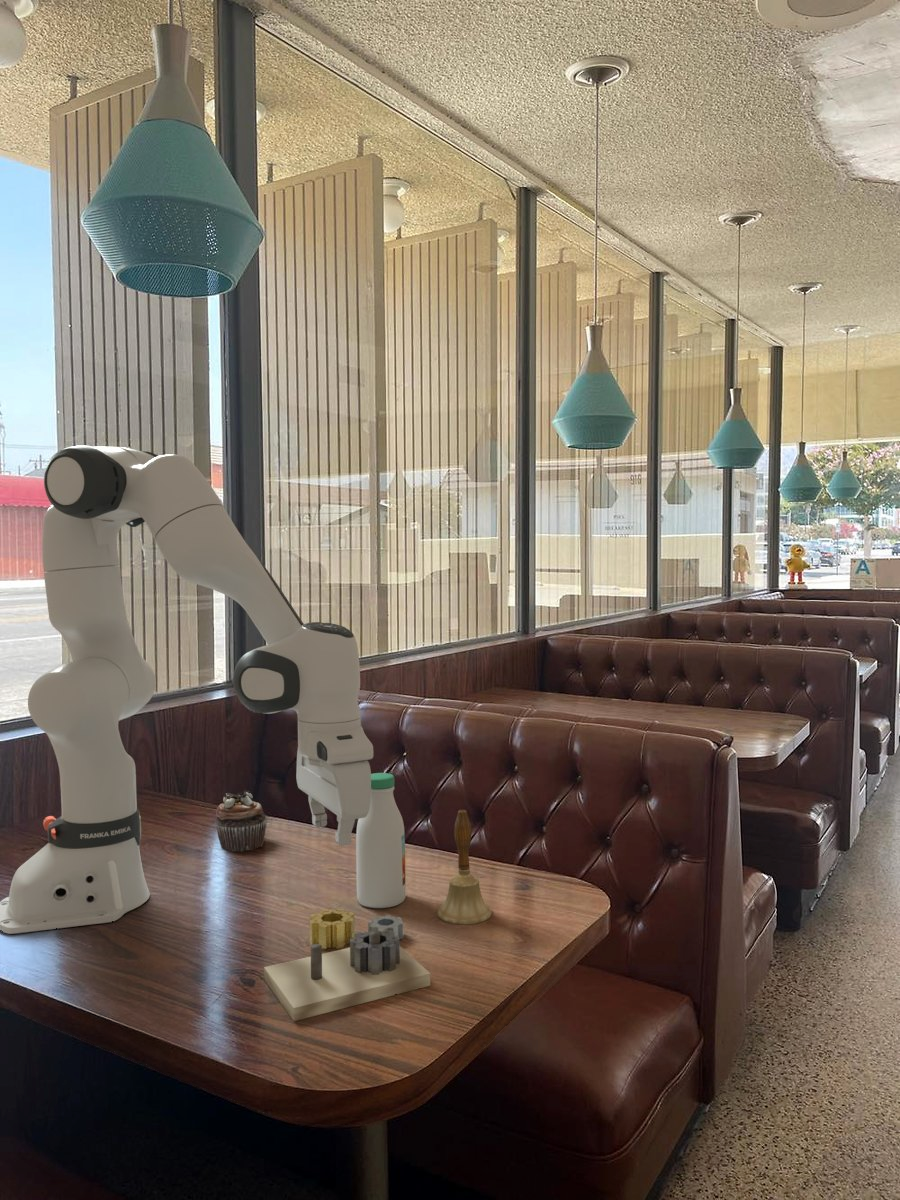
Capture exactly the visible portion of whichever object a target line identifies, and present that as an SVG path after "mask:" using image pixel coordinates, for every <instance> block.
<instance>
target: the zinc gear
mask: <svg viewBox="0 0 900 1200" xmlns="http://www.w3.org/2000/svg"><path fill="white" fill-rule="evenodd" d="M392 915H393V914H386V915H385V916H379V915H378V916H374V917H373V919H372V920H371V919H370V920H368V922H367V932H368V931H371V929H378V931H381V932H382V931H385V932H386V931H388V930H390V931H392V932H394V935H395V937H398V936H399V940H403V939H404V935H405V934H404V932H405V931H404V930H405V929H404V928H405V927H404V926H405V925H404V923H405V922H404V921H402V920H403V919H402V918H401V917H400V916H397V917H396V916H392Z"/></svg>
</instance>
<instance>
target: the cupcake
mask: <svg viewBox="0 0 900 1200" xmlns="http://www.w3.org/2000/svg"><path fill="white" fill-rule="evenodd" d="M253 797H254V796H253V794H252V792H251V791H250V790H246V789H244V791H242V792H240V793H234V794H233V793H230V792H225V793H224V796H223V799H222V800H223V801H222V803H220V804H219V805H218V807H216V810H215V814H216V816H215V818H214V825H215V830H216V832H217V837H218V841H219V844H220V847H221V849H222V850H223V849H224V851H226V852H234V851H239V852H246V850H249V851H252V850H251V849H253V850H256V849H255V848H257V849H259V848H261V847H262V846H263V844H264V843H265V834H266V828H267V823H268V817H267V815H266V814H265V813H264V811H263V807H262V805H261V803H259V802H256V801H253ZM261 845H262V846H261ZM260 846H261V847H260ZM258 847H259V848H258Z"/></svg>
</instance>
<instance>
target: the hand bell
mask: <svg viewBox="0 0 900 1200" xmlns="http://www.w3.org/2000/svg"><path fill="white" fill-rule="evenodd" d="M454 841H455V843H456V844H455V845H456V847H457V851H458V852H457V853H458V859H457V861H458V863H457V864H458V866H457V867H458V873H457V874H455V875H453V876H451V878H450V879H449V885H448V891H447V892H448V893H447V895H446V899H445V901H444V902H443V903H442V904H441V905H440V906H439V907H438V910H437V913H436V914H437V916H438V918H439V919H441V920H442V921H444V922H446V923H449V924H454V925H474V924H479V923H483V922H484V921H485V922H486V920H488V919H490V917H492V913H493V911H492V909H491V907H490V906H489V905H488V904H487V903H486V902H485V900H484V898H483V895H482V892H481V888H480V880H479V878H478V877H477V876H476V875H474V874H471V869H470V856H469V849H470V846H471V843H472V842H471V841H472V825H471V822H470V818H469V816H468V812H467V810H466V809H459V810H458V811H457V816H456V819H455V823H454Z"/></svg>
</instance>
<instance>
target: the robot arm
mask: <svg viewBox="0 0 900 1200" xmlns="http://www.w3.org/2000/svg"><path fill="white" fill-rule="evenodd" d="M43 486H44V491H45V495H46V497H47V499H48V501H49V503H50V506H49V507H48V508H47V510H46V512H45V514H44V517H43V524H42V525H43V526H42V537H41V539H42V541H41V544H42V545H41V549H42V550H41V553H42V554H41V555H42V567H43V569H42V570H43V576H44V586H45V594H46V603H47V611H48V612H47V613H48V619H49V622H50V625H52V627H53V628H54V629H55V630H56V631H57V632H58V633H59V634H60V635H61V636H62V638H63V639H64V640H63V641H64V642H65V643H66V646H67V648H68V651H69V653H70V656H71V660H72V661H70V662H69V661H68V662H64V663H62V664H59V665H57V666H55V667H54V668H51V669H50V670H48V671H47V672H45V673H44V674H42V675H41V676H39V677H38V678H37V679H36V680H35V681H34V682H33V684H32V685H31V687H30V690H29V691H28V697H27V706H28V713H29V715H30V717H31V719H32V721H33V722H34V724H35V725H36V726H37V727H38V728H39V729H40V730H42V731H43V732H44V733H45V734H46V736H47V737H48V739H49V741H50V744H51V746H52V748H53V752H54V755H55V758H56V761H57V765H58V770H59V780H60V781H59V783H60V797H61V798H60V803H61V816H59V817H57V818H55V816H53V815H49V816H46V817H45V818H44V819H43V822H42V824H43V828H44V830H45V831H47V839H48V843H47V844H45V845H44V846H43V847H42V848H41V849H40V850H38V851H37V852H36V853H35V854H34V855H32V856H31V857H30V858H29V859H28V860H26V861H25V862H23V863H22V864H21V865H20V866H19V867H18V868H17V869H16V871H15V873H14V875H13V877H12V880H11V884H10V886H9V887H10V888H9V892H8V893H9V895H8V896H6V897H5V898H3V899H1V901H0V930H2V931H3V933H5V934H10V935H11V934H23V933H30V932H39V931H46V930H54V929H56V928H57V929H64V928H65V929H66V928H72V927H79V926H80V927H81V926H82V927H83V926H89V925H90V926H91V925H97V924H107V923H112V921H113V922H115V921H117V920H119V919H120V918H122V917H123V916H124V914H126V913H128V912H130V911H132V910H134V909H136V908H139V907H140V906H142V905H143V904H144V903H145V902H147V900H149V899H150V896H151V893H150V890H149V887H148V885H147V884H148V883H147V881H146V878H145V874H144V870H143V864H142V858H141V853H140V845H141V839H142V825H141V824H142V822H141V815H140V810H139V809H138V807H137V805H138V804H137V774H136V773H137V771H136V763H135V760H134V759H133V757H132V756H131V755H130V754H128V753H127V751H126V749H125V747H124V744H123V741H122V738H121V733H120V730H119V722H120V721H122V720H124V719H127V718H130V717H132V716H134V715H135V714H137V713H138V712H140V710H142V709H143V708H144V707H145V706H146V704H148V703H149V702H150V701H151V699H152V698H153V696H154V694H155V690H156V686H157V685H156V683H157V682H156V681H157V680H156V675H155V672H154V670H153V668H152V666H151V665H150V664H149V663H148V661H146V659H144V658H143V656H142V654H141V652H140V651H139V648H138V646H137V643H136V641H135V638H134V635H133V633H132V629H131V627H130V624H129V620H128V617H127V612H126V607H125V599H124V592H123V585H122V584H123V583H122V576H121V567H120V560H119V553H118V536H119V535H118V534H119V532H120V530H121V529H122V527H124V526H125V525H127V526H129V527H131V528H136V527H138V526H140V525H142V524H144V523H145V524H146V526H147V527H148V529H149V531H150V533H151V535H152V537H153V539H154V541H155V543H156V545H157V547H158V549H159V551H160V553H161V554H162V556H163V558H164V560H165V561H166V562H167V563H168V565H169V566H170V567H171V568H172V570H174V571H175V573H176V574H177V575H178V576H179V577H180V578H181V579H184V580H185V581H187V582H189V583H191V584H195V585H197V586H201V587H204V588H208V589H210V590H213V591H216V592H218V593H220V594H223V595H225V596H227V597H228V598H230V599H232V600H233V601H235V602H236V603H238V605H240V606H241V608H242V609H243V610H244V611H245V612H246V614H247V615H248V616H249V618H250V620H251V621H252V622H253V624H254V626H255V627H256V629H257V630H258V631H259V633H260V635H261V636H262V638H263V640H265V642H266V645H263V646H259V647H257V648H254V649H252V650H250V651H248V652H246V653H245V654H243V655H242V656H241V657H240V658H239V660H238V661H237V663H236V665H235V668H234V671H233V679H232V681H233V688H234V691H235V694H236V697H237V698H238V700H239V702H240V703H241V704H242V705H243V706H244V707H245V708H246V709H247V710H249V711H250V712H253V713H257V714H267V715H270V714H276V713H279V712H280V713H281V712H282V711H287V710H291V711H295V713H296V715H297V751H296V752H297V753H296V774H295V775H296V776H295V777H296V784H297V787H298V789H299V790H301V791H302V792H303V793H305V794H306V795H308V796H307V798H308V804H309V809H310V812H311V821H312V825H313V826H314V827H316V828H317V829H318V828H324V827H326V826H327V825H328V821H327V820H328V814H327V813H326V809H327V810H329V811H330V812H332V813H333V814H335V815H336V821H337V822H338V823H337V830H335V831H334V835H335V843H336V844H338V846H341V847H345V846H349V845H351V844H352V831H353V829H354V826H355V823H356V820H358V819H360V818H365V817H366V816H367V814H368V812H369V809H370V798H371V774H372V771H371V765H370V762H369V761H368V760H372V759H373V758H374V745H373V743H372V741H370V739H369V738H368V737H367V735H366V734H365V732H364V728H363V726H362V718H361V717H362V715H361V710H360V707H359V701H358V700H359V693H360V689H361V669H360V668H361V667H360V657H359V649H358V643H357V639H356V637H355V634H354V633H353V632H352V631H351V630H350V629H348V628H347V627H345V626H342V625H340V624H335V623H329V622H319V621H315V622H313V621H311V622H307V623H304V622H303V621H302V619H301V618H300V617H299V614H298V613H297V612H296V611H295V609H294V608H293V605H292V604H291V603H290V601H289V600H288V599H287V597H286V595H285V594H284V592H283V590H282V589H281V588H280V586H279V585H278V583H277V582H276V580H275V579H274V577H273V576H272V574H271V573H270V572H269V570H268V569H267V567H266V566H265V565H264V564H263V562H262V561H261V560H260V559H259V557H258V556H257V555H256V554H255V553H254V552H253V550H252V548H250V547H249V544H248V543H247V542H246V540H244V538H243V536H242V534H241V533H240V532H239V530H238V528H237V527H236V525H235V523H234V522H233V520H232V518H231V517H230V515H229V514H228V512H227V510H226V509H225V505H224V504H223V503H222V501H221V499H220V497H219V496H218V495H217V493H216V491H215V490H214V488H213V487H212V486H211V484H210V483H209V481H208V480H207V479H206V477H205V476H204V475H203V473H202V472H201V471H200V469H198V468H197V466H196V465H195V464H194V463H193V461H192V460H190V459H189V458H188V457H186V456H184V455H181V454H174V453H169V454H168V453H167V454H162V455H158V454H157V453H153V452H152V451H145V450H143V451H141V450H138V449H134V448H129V447H122V446H91V445H87V444H86V445H85V444H84V445H83V444H82V445H75V446H69V447H65V448H62V449H60V450H58V451H57V452H55V453H54V454H53V456H51V457H50V458H49V460H48V462H47V465H46V467H45V470H44V477H43ZM325 808H326V809H325ZM2 931H1V932H2Z"/></svg>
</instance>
